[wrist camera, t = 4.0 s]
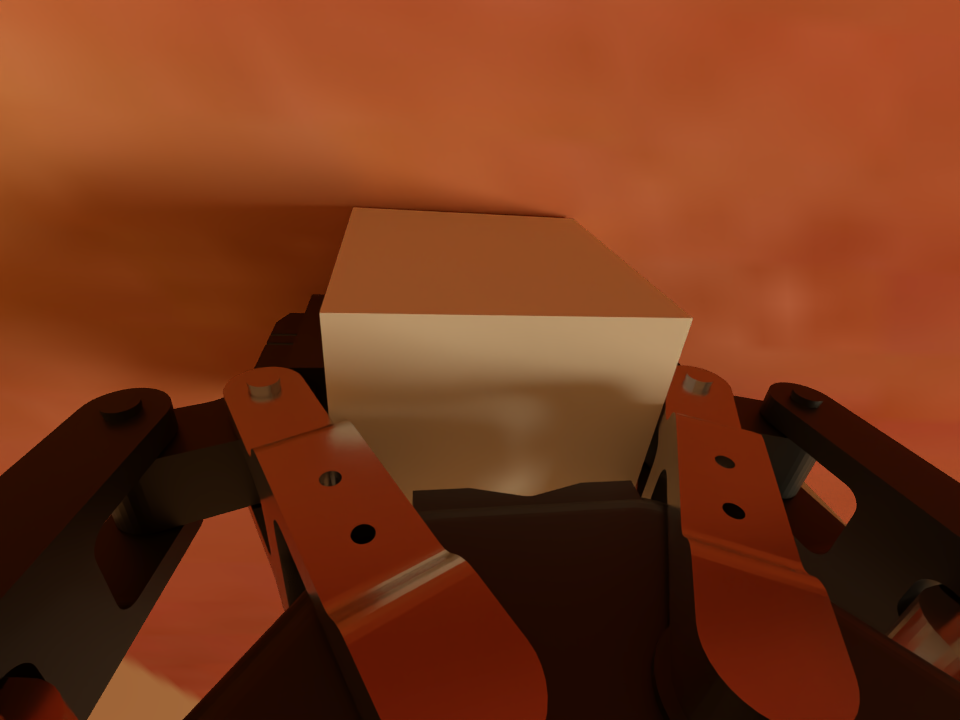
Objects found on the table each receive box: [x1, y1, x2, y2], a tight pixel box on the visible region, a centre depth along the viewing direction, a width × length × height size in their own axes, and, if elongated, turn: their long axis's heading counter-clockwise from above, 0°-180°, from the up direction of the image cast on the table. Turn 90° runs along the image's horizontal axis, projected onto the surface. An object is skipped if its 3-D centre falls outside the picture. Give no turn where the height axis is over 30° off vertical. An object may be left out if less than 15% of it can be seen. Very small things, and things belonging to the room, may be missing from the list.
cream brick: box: [319, 207, 693, 504], centre depth 11 cm, size 6×6×6 cm
